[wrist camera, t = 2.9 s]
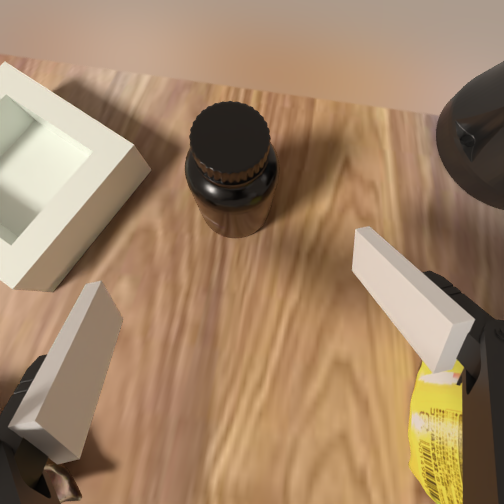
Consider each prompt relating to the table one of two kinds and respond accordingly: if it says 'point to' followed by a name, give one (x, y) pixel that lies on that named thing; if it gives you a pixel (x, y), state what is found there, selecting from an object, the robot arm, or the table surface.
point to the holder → (55, 182)
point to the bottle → (437, 434)
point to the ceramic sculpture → (62, 482)
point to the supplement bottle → (232, 168)
